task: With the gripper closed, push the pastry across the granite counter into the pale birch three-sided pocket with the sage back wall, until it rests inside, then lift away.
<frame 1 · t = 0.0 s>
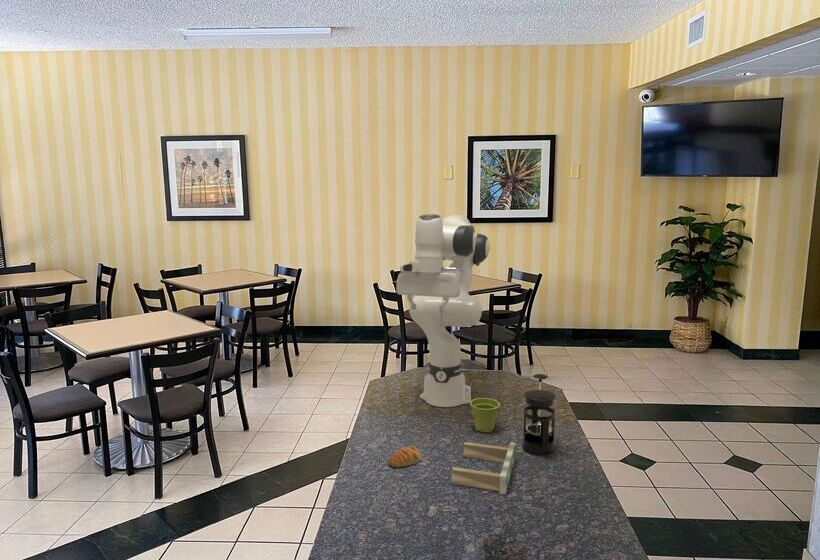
hand: (427, 310, 187), 39 cm above the countertop, tool pointing down, fingers open, 8 cm apart
french press: (538, 449, 177), on the countertop
pastry: (405, 462, 171), on the countertop
plant pot: (484, 429, 192), on the countertop
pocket: (481, 471, 165), on the countertop
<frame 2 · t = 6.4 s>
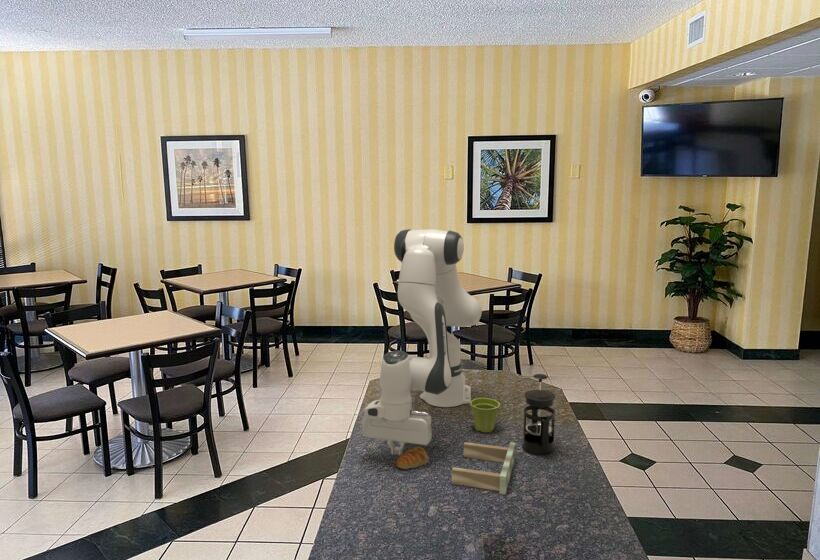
hand: (396, 454, 171), 2 cm above the countertop, tool pointing down, fingers closed
pastry: (413, 464, 170), on the countertop, touching gripper
everything else where it was.
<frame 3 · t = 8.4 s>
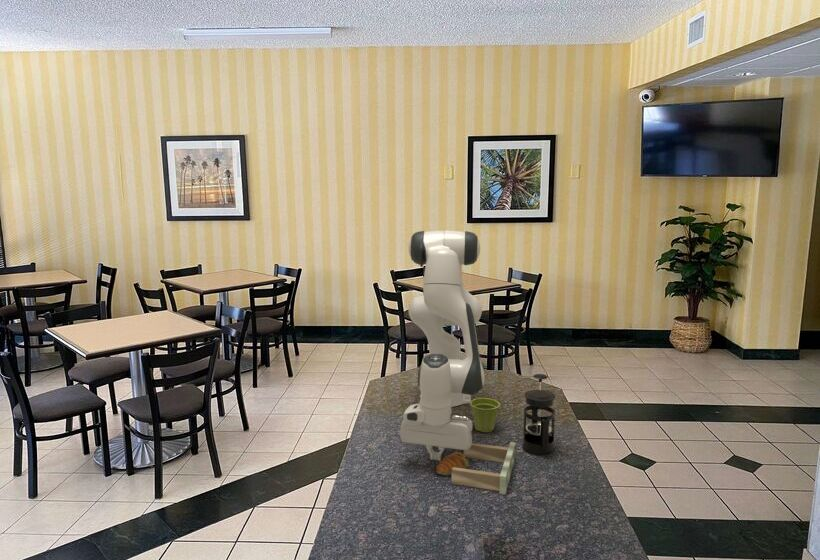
hand: (435, 459, 168), 2 cm above the countertop, tool pointing down, fingers closed
pastry: (452, 470, 166), on the countertop, touching gripper
everything else where it was.
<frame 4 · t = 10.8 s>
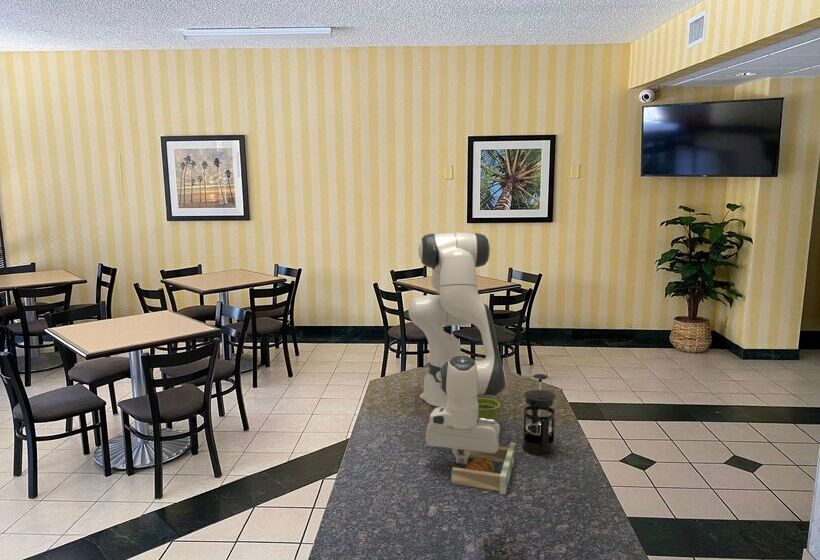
hand: (461, 462, 166), 2 cm above the countertop, tool pointing down, fingers closed
pastry: (478, 474, 164), on the countertop
everything else where it was.
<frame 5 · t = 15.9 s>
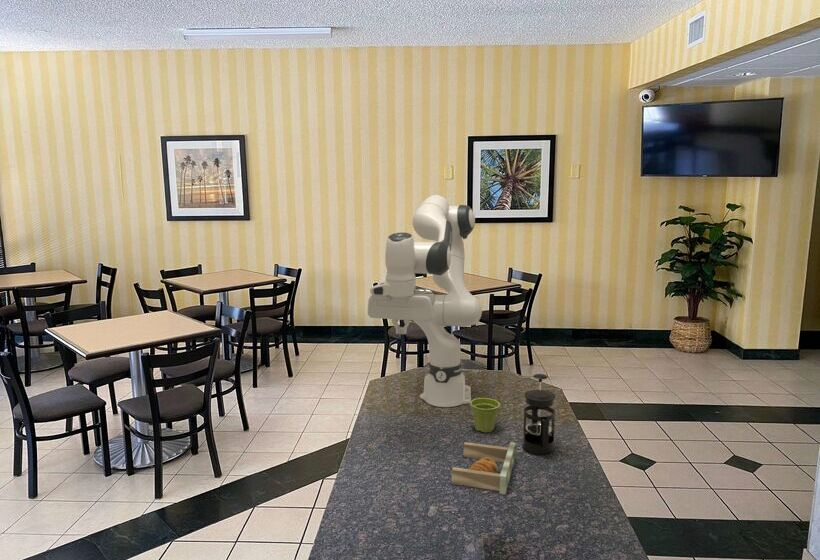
hand: (401, 333, 178), 34 cm above the countertop, tool pointing down, fingers closed
pastry: (482, 475, 163), on the countertop
everything else where it was.
at the end: pastry inside the target area on the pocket (1.7 cm from its centre), point -0.5 cm above the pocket's base; pastry moved 22.6 cm from its start; pastry tilted 0° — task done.
